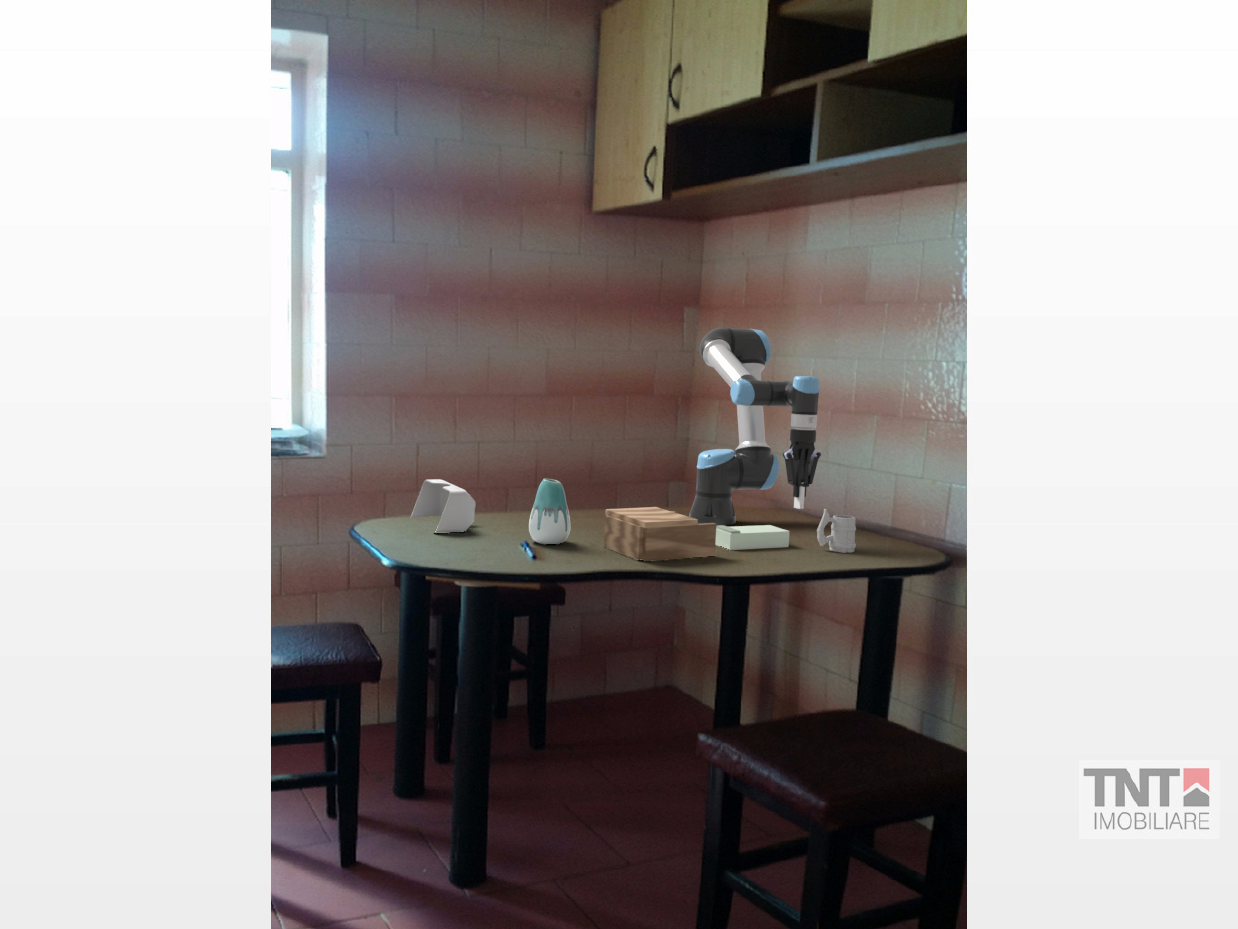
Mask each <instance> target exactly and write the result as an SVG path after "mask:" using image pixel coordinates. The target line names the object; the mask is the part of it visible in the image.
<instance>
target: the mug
mask: <svg viewBox="0 0 1238 929" xmlns="http://www.w3.org/2000/svg"><path fill="white" fill-rule="evenodd" d="M829 513H830V512H828V509H826V508H824V509H823V515H822V517H821V519H820V522H819V523H818V524H819V525H818V527H817V529H816V533H817V536H816V537H817V541H818V544H819V546H820V547H824V546H825V545H826V544H827V543H828V546H829V551H832V552H834V553H837V552H838V553H845V554H846V553H850V554H851V553H854V552H855V548H857V547H856V546H857V544H856V541H855V540H856V531H857V526H856V517H855V516H852V515H847V514H833V516H832V517H831V516H830V514H829ZM829 522H831V524H830V529H831V530H830V531H831V533H830V534H829V535H827V536H826V535H825V534H824V533H825V528H826V526H827V525H828V523H829Z"/></svg>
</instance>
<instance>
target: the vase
mask: <svg viewBox="0 0 1238 929" xmlns="http://www.w3.org/2000/svg"><path fill="white" fill-rule="evenodd" d="M534 499H535V500H534V502H533V506H532V508H531V512H530V516H529V520H528V532H529V534H530V537H531V539H532V540H533V541H534V542H536V543H538V544H541V545H546V544H556V545H561V544H563V543H564V542H565V541H566V540H568V537H569V536H570V532H571V516H570V512H569V507H568V504H567V499H566V492H565V489H564V486H563V483H562V482H561V481H559V480H556V479H553V478H543V479H542V481H541V482H540V484H539V486H538V489H537V491H536V495H535V498H534ZM560 543H561V544H560Z"/></svg>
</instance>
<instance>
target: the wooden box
mask: <svg viewBox="0 0 1238 929" xmlns="http://www.w3.org/2000/svg"><path fill="white" fill-rule="evenodd" d="M604 512H605V513H604V514H605V522H604V523H605V524H604V542H603V544H604V545H603V547H604V546H606V547H608V548H610V549H613V550H615V551H617V552H620V553H622V554H625V555H627V556H631V557H634V558H636V559H639V560H640V559H643V560H645V561H651V560H664V561H667V560H666V559H677V560H681V559H680V558H690V559H693V558H692V557H703V558H708V557H707V556H715V554H716V545H715V542H716V526H718V525H717V524H715V523H704V524H699V523H698V519H694V518H691V517H689V515H684V514H680V513H678V512H677V511H674V510H671V511H670V510H668V509H663V508H660V507H658V506H650V507H646V506H645V507H628V508H626V507H625V508H607V509H605V511H604ZM645 561H644V562H645ZM651 562H652V561H651Z"/></svg>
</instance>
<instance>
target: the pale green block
mask: <svg viewBox="0 0 1238 929" xmlns="http://www.w3.org/2000/svg"><path fill="white" fill-rule="evenodd" d="M789 543H790V530H787V529H785V528H784V529H783V528H781V527H778V526H774V525H772V524H764V525H742V526H741V525H740V526H739V525H738V526H737V525H735V526H728V525H716V542H715V546H717V547H720V546H722V547H721V548H723V547H724V548H723V549H725V548H727V549H726V550H728V549H729V550H728V551H735V550H755V549H756V550H757V549H758V550H759V549H774V548H775V549H776V548H789V547H790V546H789V545H790V544H789Z"/></svg>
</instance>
